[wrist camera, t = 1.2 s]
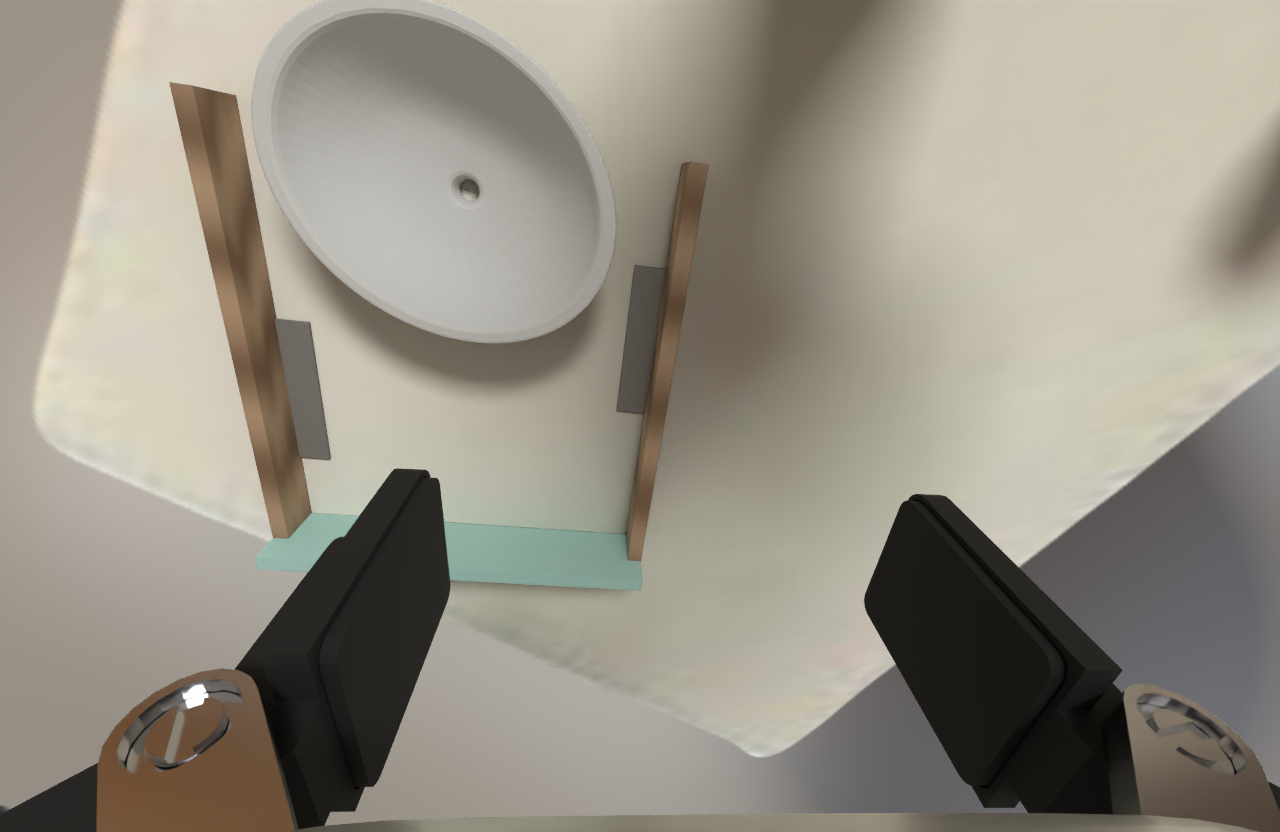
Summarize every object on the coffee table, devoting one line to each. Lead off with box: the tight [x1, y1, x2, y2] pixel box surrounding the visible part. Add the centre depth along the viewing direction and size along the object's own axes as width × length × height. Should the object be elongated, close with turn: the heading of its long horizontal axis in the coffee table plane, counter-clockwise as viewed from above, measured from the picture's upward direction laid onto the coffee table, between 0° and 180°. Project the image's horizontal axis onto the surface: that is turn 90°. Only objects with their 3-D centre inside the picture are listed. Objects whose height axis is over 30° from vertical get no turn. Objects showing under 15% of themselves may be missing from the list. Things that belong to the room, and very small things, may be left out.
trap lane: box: [169, 82, 708, 591], centre depth 31 cm, size 28×26×5 cm
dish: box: [251, 0, 616, 344], centre depth 26 cm, size 18×14×5 cm
